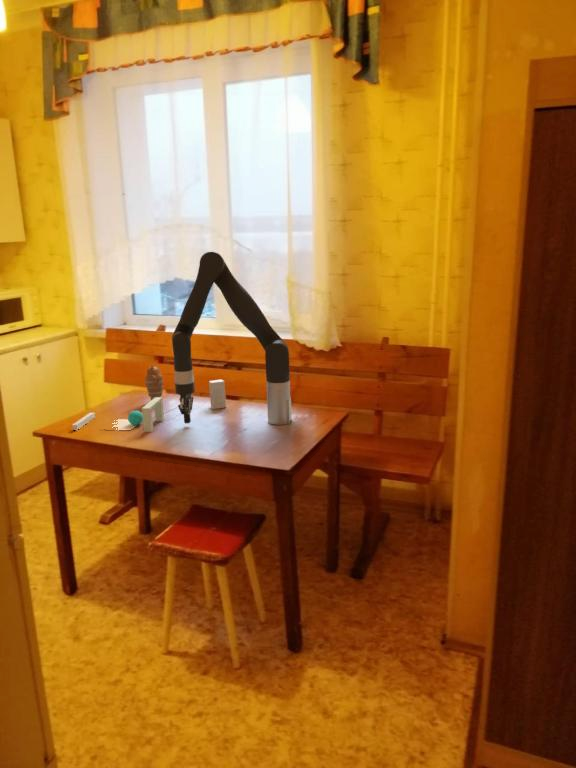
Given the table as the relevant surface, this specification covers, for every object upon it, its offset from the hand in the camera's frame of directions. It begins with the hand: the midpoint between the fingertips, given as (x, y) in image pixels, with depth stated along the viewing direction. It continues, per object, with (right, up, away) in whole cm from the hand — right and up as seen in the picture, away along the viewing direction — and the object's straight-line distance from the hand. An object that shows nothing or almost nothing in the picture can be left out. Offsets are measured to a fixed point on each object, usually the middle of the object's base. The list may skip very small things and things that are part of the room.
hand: (187, 422), depth 239 cm
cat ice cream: (-20, +6, +32) cm, 38 cm away
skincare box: (+10, +5, +25) cm, 27 cm away
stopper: (-44, -1, +6) cm, 44 cm away
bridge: (-14, -1, +2) cm, 14 cm away
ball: (-22, +2, +3) cm, 22 cm away
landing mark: (-28, -1, +4) cm, 28 cm away
